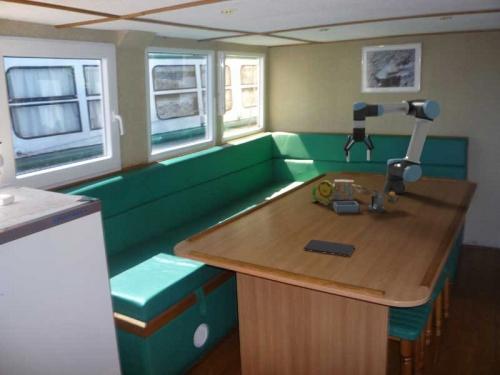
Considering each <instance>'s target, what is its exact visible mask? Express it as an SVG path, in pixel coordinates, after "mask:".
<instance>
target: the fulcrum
mask: <svg viewBox="0 0 500 375" xmlns="http://www.w3.org/2000/svg"><path fill="white" fill-rule="evenodd" d="M370 199H371V200H370V204H369V205H367V209H368V210H369V211H371V212H373V213H382V212H386V211H387V210H386V208H385V207H384V206H383V205H384V199H383V193H377V197H374V196H371V197H370Z"/></svg>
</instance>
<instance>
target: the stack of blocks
mask: <svg viewBox="0 0 500 375" xmlns="http://www.w3.org/2000/svg"><path fill="white" fill-rule="evenodd" d="M332 184H333V186H334V194H333V195H332V196H331V197H330V198H331V199H332V200H342V201H354V192H355V191H354V190H355V189H354V188H353V185H352V184H355V181H354V180H353V179H334V180H333V183H332Z"/></svg>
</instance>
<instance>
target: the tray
mask: <svg viewBox="0 0 500 375" xmlns="http://www.w3.org/2000/svg"><path fill="white" fill-rule="evenodd" d="M360 207H361V206H360V204H359V203H358V202H357V201H356V200H342V201H339V200H337V201H335V200H334V201H332V209H333V211H334V212H335V214H352V213H353V214H357V213H360V209H361V208H360Z"/></svg>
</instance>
